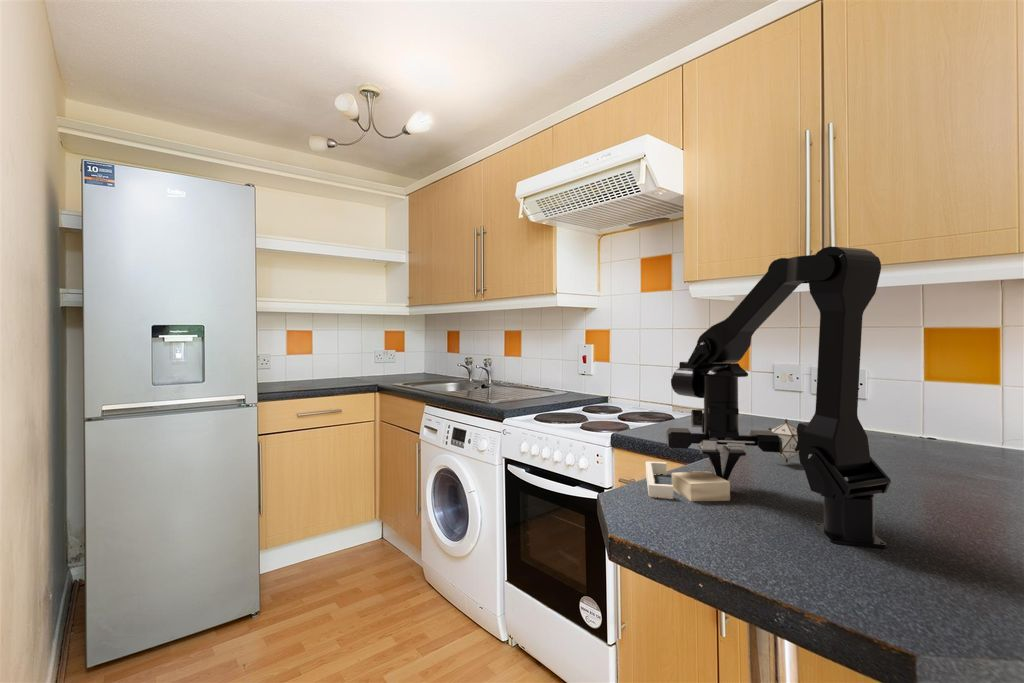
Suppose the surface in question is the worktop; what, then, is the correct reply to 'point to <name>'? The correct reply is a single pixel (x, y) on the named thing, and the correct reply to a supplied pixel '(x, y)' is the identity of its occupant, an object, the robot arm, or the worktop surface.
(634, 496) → the worktop surface
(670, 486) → the cream u-shaped piece
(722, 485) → the birch block
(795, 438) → the game die
